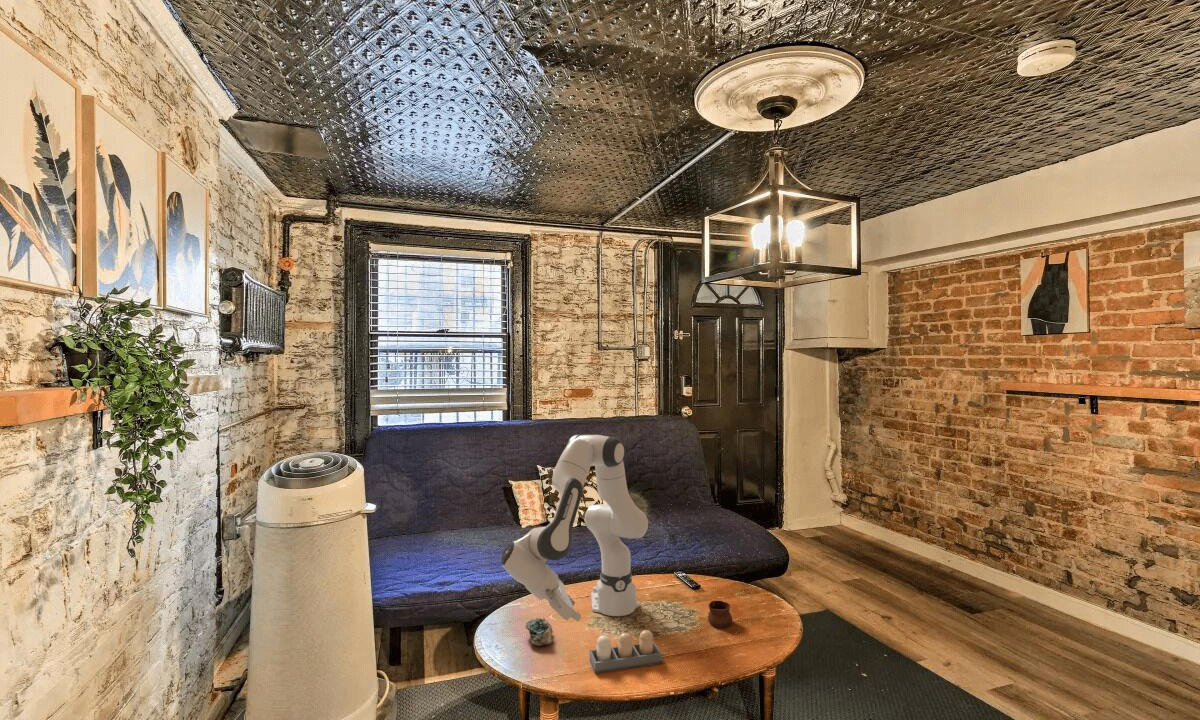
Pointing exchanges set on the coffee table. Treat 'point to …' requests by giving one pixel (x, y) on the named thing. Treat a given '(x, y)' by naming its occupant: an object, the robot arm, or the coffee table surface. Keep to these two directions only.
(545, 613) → the coffee table surface
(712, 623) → the ceramic pot
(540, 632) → the mineral specimen
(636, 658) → the carton
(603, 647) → the cream round-topped peg
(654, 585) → the coffee table surface
